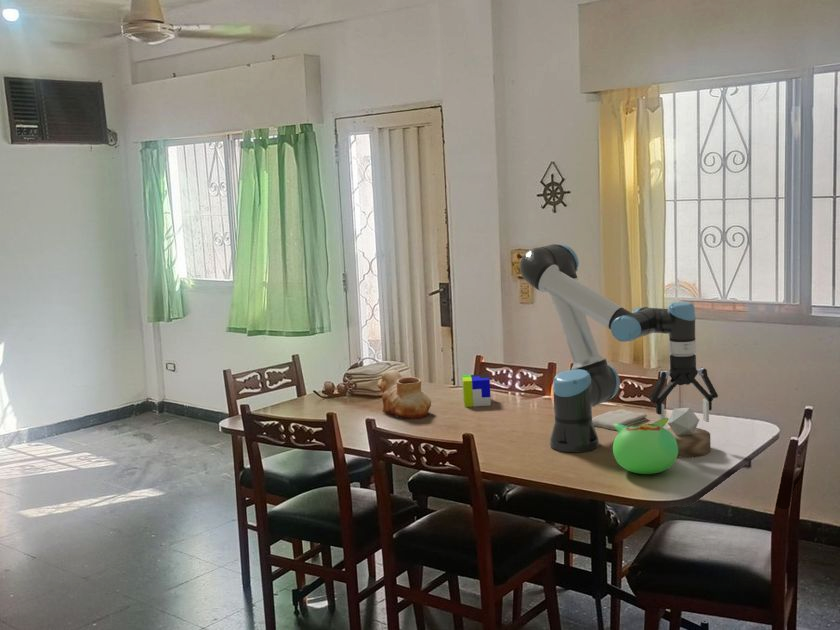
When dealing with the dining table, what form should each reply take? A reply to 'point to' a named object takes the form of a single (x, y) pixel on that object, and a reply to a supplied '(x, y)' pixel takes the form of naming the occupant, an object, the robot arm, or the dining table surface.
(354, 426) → the dining table surface
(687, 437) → the plinth
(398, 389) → the ceramic vessel
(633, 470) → the green eared pot
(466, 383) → the puzzle toy
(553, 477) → the dining table surface
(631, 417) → the washcloth
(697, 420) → the die
